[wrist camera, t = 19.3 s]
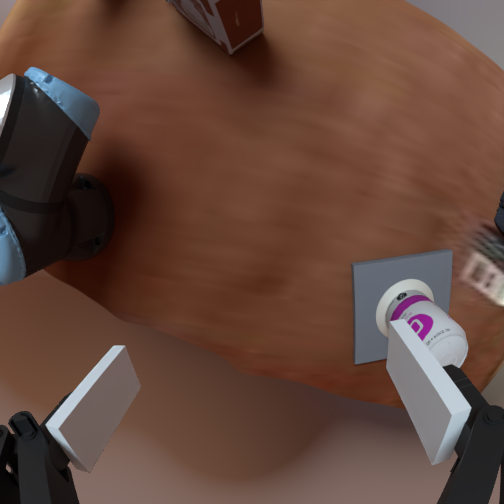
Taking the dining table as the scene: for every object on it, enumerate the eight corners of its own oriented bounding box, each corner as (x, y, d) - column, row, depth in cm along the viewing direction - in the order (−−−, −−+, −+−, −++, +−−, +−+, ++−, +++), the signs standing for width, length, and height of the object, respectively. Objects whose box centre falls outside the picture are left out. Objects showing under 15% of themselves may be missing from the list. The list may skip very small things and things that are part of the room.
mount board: (353, 359, 49) (355, 365, 48) (351, 263, 45) (353, 266, 44) (440, 340, 47) (444, 345, 46) (448, 248, 43) (453, 251, 42)
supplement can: (374, 320, 45) (406, 373, 31) (403, 278, 43) (448, 319, 29) (407, 340, 46) (442, 391, 31) (435, 301, 44) (481, 343, 29)
